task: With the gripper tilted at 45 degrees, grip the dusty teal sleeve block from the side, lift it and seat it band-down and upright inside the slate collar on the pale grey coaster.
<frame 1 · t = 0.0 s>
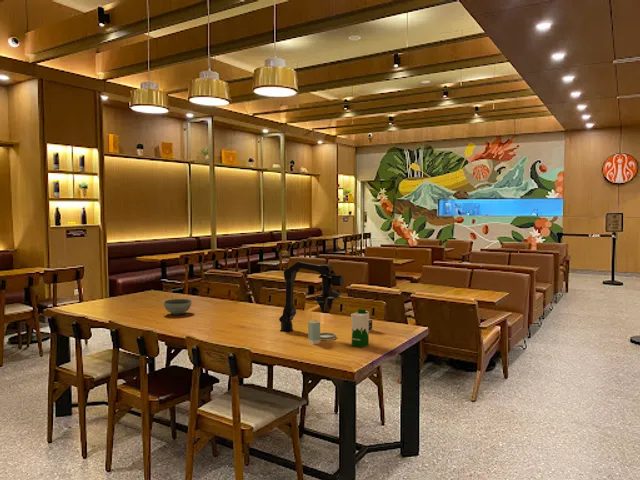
hand: (326, 311, 295), 15 cm above the table, tool pointing down, fingers open, 9 cm apart
bowl: (178, 314, 363), on the table
sleeve block: (314, 342, 279), on the table
milk carton: (360, 345, 272), on the table
coaster: (325, 337, 290), on the table
medicine bottle: (364, 330, 307), on the table
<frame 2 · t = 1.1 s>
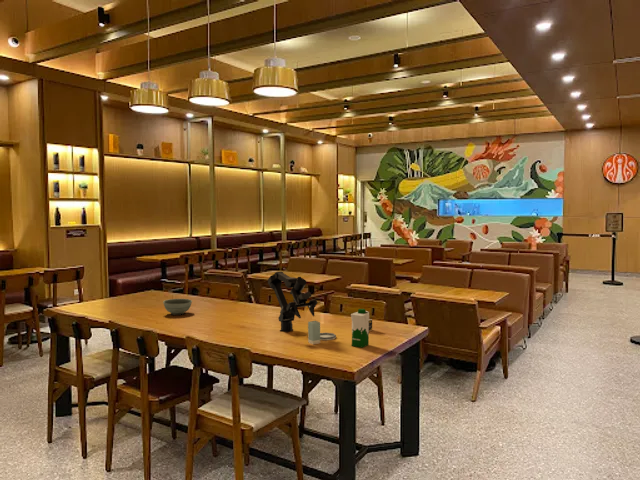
hand: (307, 317, 285), 13 cm above the table, tool tilted 45°, fingers open, 9 cm apart
nothing on the table moved.
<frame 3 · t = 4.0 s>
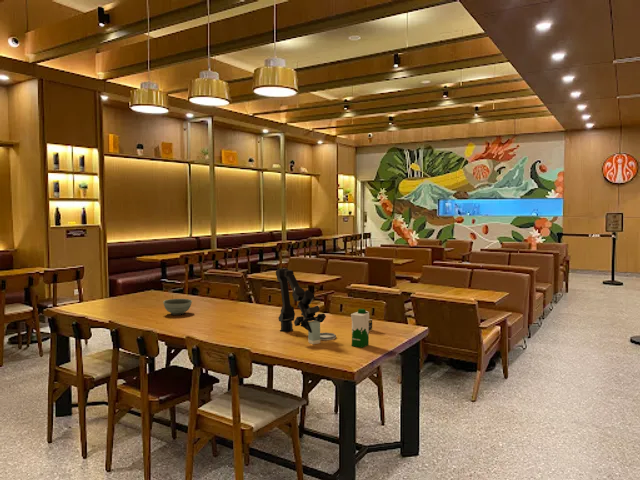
hand: (315, 331, 277), 7 cm above the table, tool tilted 45°, fingers closed on sleeve block, 5 cm apart
sleeve block: (314, 342, 279), on the table, touching gripper
everything else where it was.
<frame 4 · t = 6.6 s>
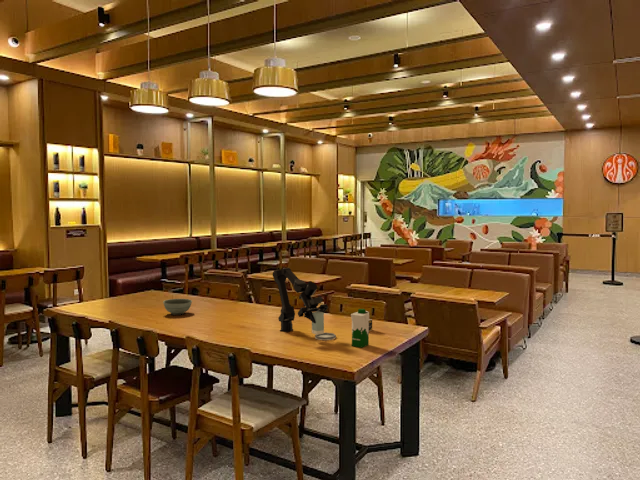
hand: (319, 322, 280), 11 cm above the table, tool tilted 45°, fingers closed on sleeve block, 5 cm apart
sleeve block: (317, 333, 281), point 5 cm above the table, touching gripper
everything else where it was.
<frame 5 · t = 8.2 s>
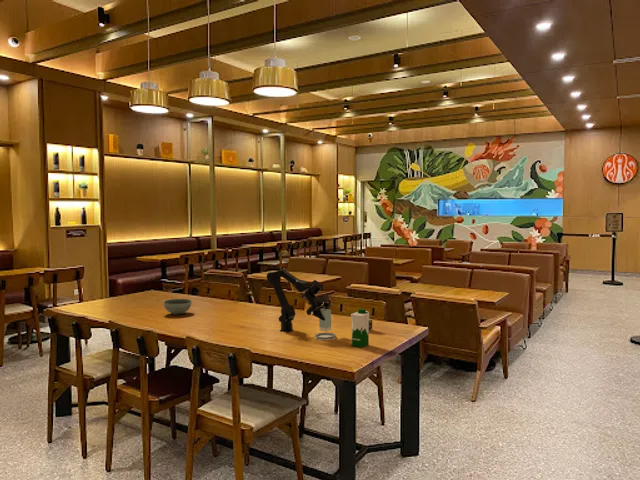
hand: (327, 319, 289), 11 cm above the table, tool tilted 45°, fingers closed on sleeve block, 5 cm apart
sleeve block: (325, 330, 290), point 4 cm above the table, touching gripper
everything else where it was.
when the fingers open (8 cm above the table, at t = 9.5 s): sleeve block stays where it is, resting on coaster.
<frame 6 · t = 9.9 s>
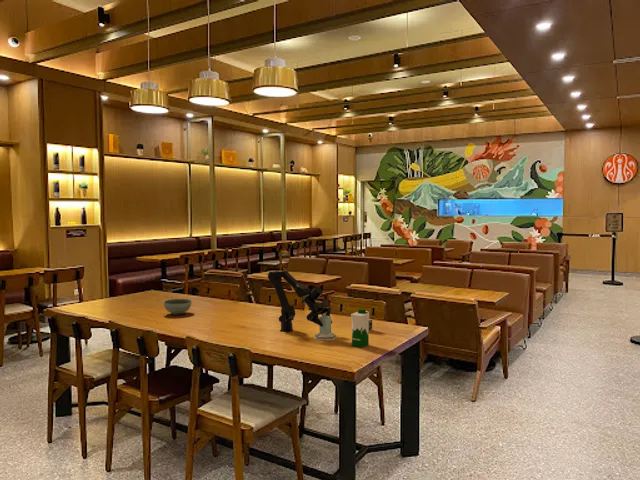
hand: (327, 324, 289), 8 cm above the table, tool tilted 45°, fingers open, 9 cm apart
sleeve block: (325, 336, 290), point 1 cm above the table, touching coaster
everything else where it was.
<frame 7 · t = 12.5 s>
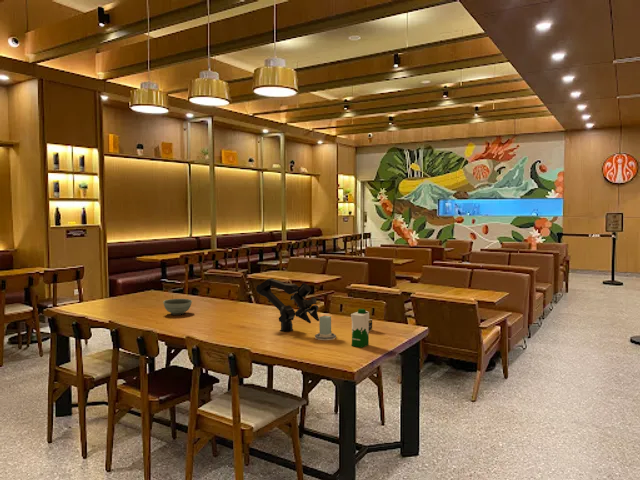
hand: (314, 321, 295), 8 cm above the table, tool tilted 45°, fingers open, 9 cm apart
nothing on the table moved.
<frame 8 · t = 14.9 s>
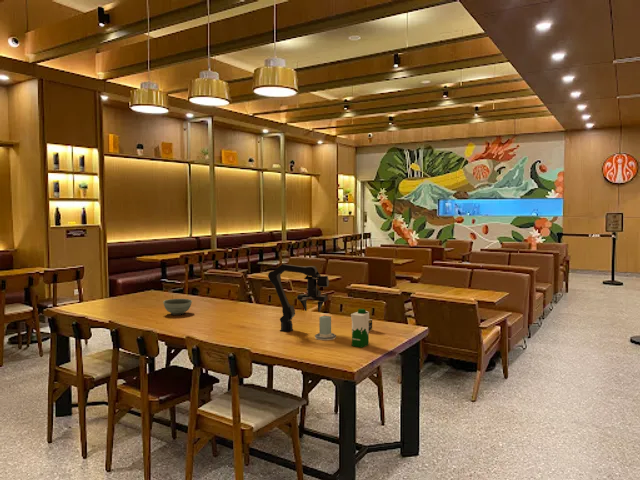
hand: (312, 311, 303), 13 cm above the table, tool pointing down, fingers open, 9 cm apart
nothing on the table moved.
at the end: sleeve block 0.0 cm off-centre on the coaster, point 0.5 cm above the coaster's base; sleeve block tilted 0°; the gripper is holding nothing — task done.
